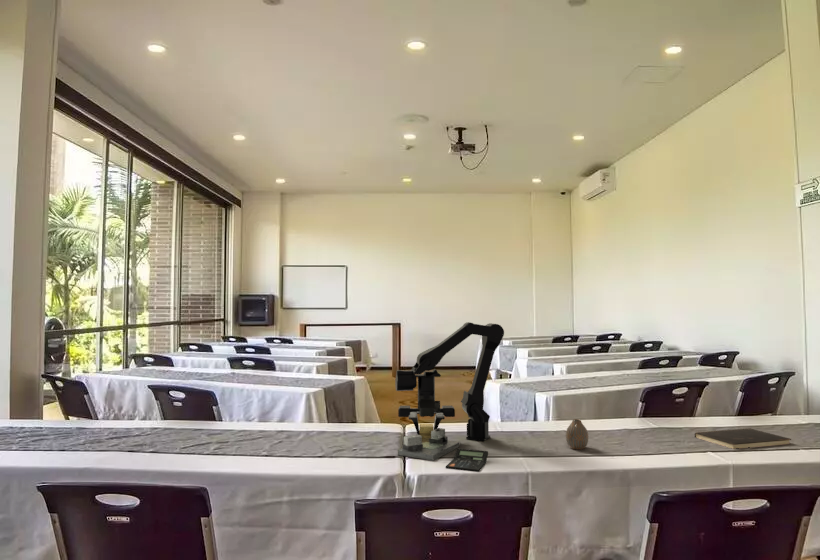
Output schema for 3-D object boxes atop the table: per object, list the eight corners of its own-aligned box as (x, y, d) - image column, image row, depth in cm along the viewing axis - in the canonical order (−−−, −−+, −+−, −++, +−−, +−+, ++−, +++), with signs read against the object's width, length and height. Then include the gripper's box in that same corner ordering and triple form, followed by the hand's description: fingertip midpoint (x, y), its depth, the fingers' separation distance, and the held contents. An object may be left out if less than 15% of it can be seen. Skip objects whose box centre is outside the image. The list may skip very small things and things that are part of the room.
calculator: (445, 469, 153) (445, 458, 153) (457, 458, 164) (457, 447, 164) (478, 472, 150) (478, 461, 150) (488, 461, 161) (488, 450, 161)
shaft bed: (459, 446, 176) (459, 430, 176) (433, 460, 160) (433, 442, 160) (426, 442, 182) (426, 426, 182) (397, 455, 166) (397, 437, 166)
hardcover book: (791, 445, 178) (791, 438, 178) (733, 451, 172) (733, 443, 172) (748, 434, 193) (748, 427, 193) (694, 438, 187) (694, 432, 187)
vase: (577, 452, 169) (576, 423, 170) (561, 446, 175) (560, 419, 176) (593, 449, 173) (593, 420, 173) (577, 444, 179) (577, 416, 179)
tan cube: (433, 438, 186) (433, 423, 187) (433, 442, 182) (433, 426, 182) (419, 438, 186) (419, 423, 187) (419, 442, 182) (419, 426, 182)
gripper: (397, 394, 177) (397, 443, 176) (456, 394, 177) (456, 443, 176) (398, 388, 188) (398, 435, 187) (453, 388, 188) (453, 434, 187)
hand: (426, 437), depth 184 cm, fingers closed on tan cube, 5 cm apart
